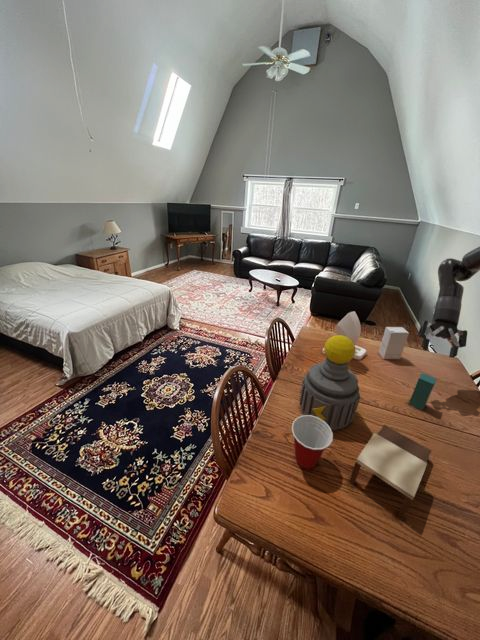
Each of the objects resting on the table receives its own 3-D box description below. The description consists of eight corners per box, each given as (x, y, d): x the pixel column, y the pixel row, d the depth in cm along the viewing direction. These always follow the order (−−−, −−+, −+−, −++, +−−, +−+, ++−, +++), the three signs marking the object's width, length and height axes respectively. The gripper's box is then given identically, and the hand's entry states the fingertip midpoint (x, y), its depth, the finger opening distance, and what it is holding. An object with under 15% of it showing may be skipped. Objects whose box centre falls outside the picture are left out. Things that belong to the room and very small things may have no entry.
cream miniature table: (427, 458, 79) (438, 436, 75) (402, 520, 63) (414, 497, 59) (381, 432, 87) (389, 411, 83) (349, 482, 71) (356, 458, 67)
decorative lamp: (346, 442, 83) (370, 360, 70) (289, 415, 92) (302, 339, 79) (358, 406, 97) (380, 334, 85) (308, 386, 106) (321, 318, 94)
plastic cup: (287, 475, 72) (292, 443, 67) (286, 442, 82) (291, 412, 77) (328, 481, 71) (337, 450, 66) (322, 447, 81) (329, 417, 76)
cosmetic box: (394, 353, 133) (403, 326, 126) (400, 360, 127) (410, 332, 121) (377, 352, 133) (385, 325, 126) (383, 359, 127) (391, 331, 121)
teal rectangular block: (425, 404, 100) (436, 378, 95) (422, 410, 97) (433, 384, 92) (411, 398, 103) (422, 372, 98) (408, 404, 100) (418, 378, 95)
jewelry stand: (339, 340, 143) (349, 296, 132) (368, 351, 133) (381, 305, 123) (315, 357, 126) (324, 309, 115) (347, 372, 116) (360, 320, 106)
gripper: (430, 303, 96) (421, 346, 93) (476, 313, 92) (467, 358, 90) (420, 308, 103) (412, 349, 100) (463, 318, 99) (454, 360, 97)
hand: (438, 353), depth 95 cm, fingers open, 8 cm apart
